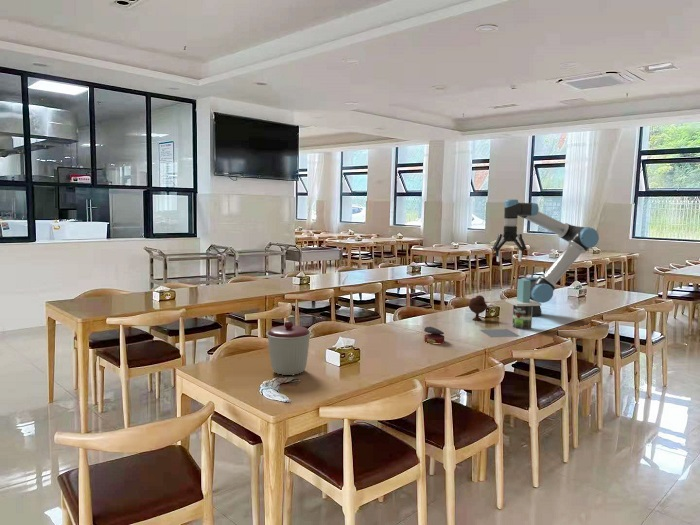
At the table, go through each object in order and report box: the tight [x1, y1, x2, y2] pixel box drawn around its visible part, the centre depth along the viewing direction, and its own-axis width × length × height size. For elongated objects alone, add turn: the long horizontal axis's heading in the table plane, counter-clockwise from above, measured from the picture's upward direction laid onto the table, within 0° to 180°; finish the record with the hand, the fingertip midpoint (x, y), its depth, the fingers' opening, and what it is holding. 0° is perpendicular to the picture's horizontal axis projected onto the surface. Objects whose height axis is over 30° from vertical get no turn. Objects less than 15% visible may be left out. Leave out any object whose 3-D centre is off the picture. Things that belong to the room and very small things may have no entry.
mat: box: [479, 328, 520, 338], centre depth 275 cm, size 16×16×1 cm
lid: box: [505, 278, 542, 307], centre depth 286 cm, size 14×14×13 cm
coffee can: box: [512, 304, 533, 331], centre depth 288 cm, size 10×10×14 cm
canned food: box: [423, 326, 445, 344], centre depth 259 cm, size 11×10×10 cm
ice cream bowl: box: [467, 294, 488, 322], centre depth 308 cm, size 11×11×15 cm
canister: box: [265, 320, 312, 376], centre depth 209 cm, size 18×18×21 cm
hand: (509, 261), depth 309 cm, fingers open, 13 cm apart
